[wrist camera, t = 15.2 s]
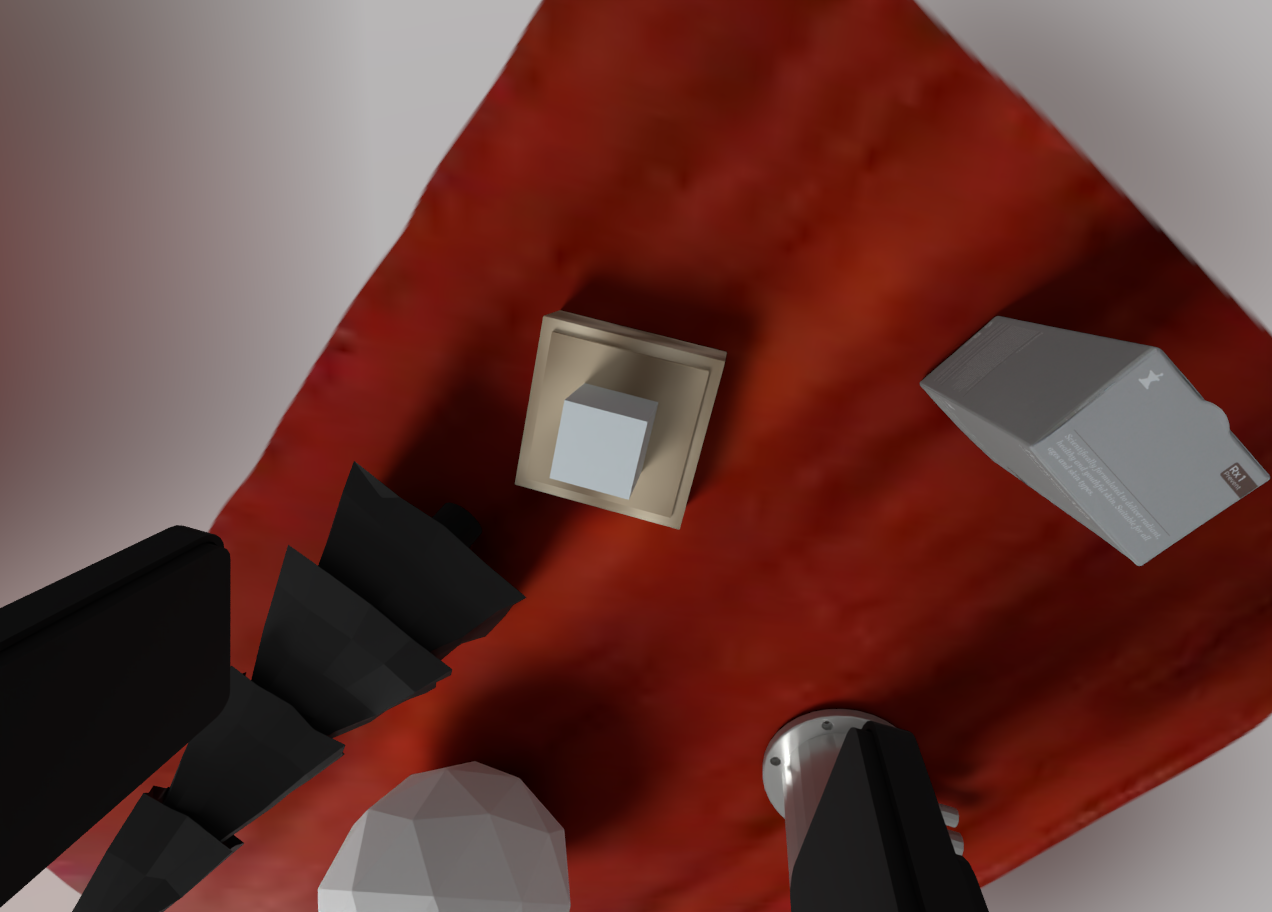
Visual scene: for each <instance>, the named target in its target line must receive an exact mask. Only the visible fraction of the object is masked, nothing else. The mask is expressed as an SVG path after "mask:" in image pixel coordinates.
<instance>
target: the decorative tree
mask: <svg viewBox="0 0 1272 912" xmlns="http://www.w3.org/2000/svg"><path fill="white" fill-rule="evenodd" d="M481 533H482V529H481V526H480V524H479V523H478V521H477V520H476V519H475V518H474V517H473V516H472V515H471V514H470V513H469V512H468V511H466V510H465V509H464V508H462V507H460V506H459V505H456V504H454V503H445V505H444V506H443V507H442V508H441V509H440V510H439V511H438V512H437V513H436V514H435V515H434V516H433V517H432V518H431V517H430V516H428V515H427V514H425V513H424V512H422V511H420V510H419V509H417V508H416V507H414V506H413V505H411V504H410V503H408V502H407V501H405V500H403V499H402V498H400V497H399V496H398V495H396V494H395V493H394V492H393V491H391V490H390V489H389V488H388V487H386V486H385V485H384V484H383V483H381V482H380V481H379V480H378V479H376V478H375V477H374V476H372V475H371V474H370V473H369V472H367V471H366V470H365V469H364V468H362V467H361V466H360V465H359V464H357V463H356V462H355V461H354V463H353V465H352V468H351V471H350V474H349V476H348V479H347V482H346V485H345V487H344V490H343V493H342V496H341V499H340V503H339V506H338V509H337V512H336V515H335V518H334V521H333V525H332V528H331V531H330V534H329V537H328V540H327V543H326V546H325V549H324V551H323V554H322V557H321V560H320V562H319V565H318V566H317V565H316V564H314V563H313V562H312V561H310V560H309V559H307V558H306V557H305V556H303V555H302V554H300V553H299V552H298V551H296V550H295V549H293V548H292V547H291V546H289V545H288V548H287V551H286V554H285V558H284V561H283V565H282V568H281V572H280V575H279V579H278V582H277V586H276V589H275V592H274V596H273V599H272V602H271V606H270V609H269V613H268V616H267V619H266V623H265V626H264V630H263V634H262V638H261V642H260V646H259V650H258V655H257V659H256V663H255V667H254V671H253V675H252V680H249V679H248V678H247V677H246V676H245V675H246V672H245V673H243V674H242V673H240V672H239V671H238V670H237V669H235V668H234V667H233V666H231V667H230V696H229V699H228V702H227V704H226V706H225V707H224V709H223V710H222V712H221V713H220V714H219V716H218V717H217V718H216V719H215V720H213V721H212V722H211V723H210V724H209V725H208V726H207V727H205V728H204V729H203V730H202V731H201V732H200V733H199V734H197V735H196V736H195V737H194V738H193V739H192V740H191V741H189V743H188V745H187V747H186V749H185V752H184V754H183V756H182V759H181V761H180V764H179V766H178V769H177V771H176V774H175V776H174V779H173V781H172V784H171V786H170V788H169V787H168V788H162V787H157V786H153V787H152V789H151V790H150V792H149V793H143V795H142V796H141V798H140V799H139V801H138V802H137V804H136V806H135V807H134V809H133V810H132V812H131V813H130V815H129V817H128V818H127V820H126V821H125V823H124V825H123V826H122V828H121V829H120V831H119V832H118V834H117V836H116V837H115V839H114V840H113V842H112V843H111V845H110V847H109V848H108V850H107V851H106V853H105V855H104V857H103V858H102V860H101V862H100V864H99V865H98V867H97V869H96V871H95V873H94V874H93V876H92V878H91V880H90V881H89V883H88V885H87V887H86V888H85V890H84V892H83V894H82V896H81V897H80V899H79V901H78V903H77V904H76V906H75V908H74V909H73V911H72V912H164V911H165V910H166V909H167V908H169V907H170V906H171V905H172V904H173V903H175V902H176V901H177V900H179V899H180V898H182V897H183V896H184V895H185V894H186V893H187V892H188V891H190V890H191V889H192V888H193V887H194V886H195V885H197V884H198V883H199V882H200V881H201V880H202V879H204V878H205V877H206V876H207V875H208V874H209V873H210V872H212V871H213V870H214V869H215V868H216V867H217V866H219V865H220V864H221V863H222V862H223V861H224V860H226V859H227V858H228V857H229V856H230V855H231V854H232V853H234V852H235V851H236V850H237V849H238V848H239V847H241V846H242V845H243V844H244V843H243V842H242V841H241V840H239V839H238V838H237V837H236V836H234V834H235V833H237V832H238V831H239V830H241V829H242V828H244V827H245V826H247V825H248V824H249V823H251V822H252V821H254V820H255V819H257V818H258V817H259V816H261V815H262V814H264V813H265V812H266V811H268V810H269V809H271V808H272V807H273V806H275V805H276V804H277V803H278V802H279V801H281V800H282V799H283V798H284V797H286V796H287V795H288V794H289V793H291V792H292V791H293V790H295V789H296V788H298V787H299V786H301V785H302V784H304V783H305V782H307V781H309V780H310V779H311V778H313V777H314V776H316V775H317V774H318V773H320V772H321V771H322V770H324V769H325V768H327V767H328V766H329V765H331V764H332V763H333V762H335V761H336V760H338V759H339V758H340V757H342V756H343V755H344V753H343V749H344V747H345V745H344V744H342V743H340V742H338V741H336V740H334V739H332V738H334V737H336V736H338V735H341V734H343V733H346V732H348V731H350V730H353V729H355V728H357V727H360V726H362V725H364V724H367V723H369V722H371V721H372V720H374V719H375V718H377V717H378V716H379V715H381V714H382V713H384V712H385V711H387V710H388V709H390V708H392V707H394V706H396V705H398V704H400V703H402V702H404V701H406V700H409V699H411V698H413V697H416V696H419V695H422V694H425V693H427V692H429V691H430V690H432V689H434V688H435V687H436V682H438V681H440V680H442V679H444V678H446V677H448V676H450V675H451V672H452V669H451V668H450V667H448V666H447V665H446V664H445V663H443V662H442V661H441V660H442V659H443V658H444V657H445V656H446V655H448V654H449V653H450V652H451V651H453V650H454V649H455V648H456V647H457V646H459V645H460V644H462V643H465V642H468V641H472V640H475V639H478V638H482V637H485V636H486V635H487V634H488V633H489V632H490V631H491V630H492V629H493V628H494V627H495V626H496V625H497V624H498V623H499V622H500V621H501V620H502V618H503V617H504V616H505V615H506V614H507V612H508V611H509V610H510V608H511V607H512V605H514V604H516V603H517V602H519V601H521V600H523V599H525V598H526V597H525V596H524V595H523V594H522V593H520V592H519V591H518V590H517V589H516V588H514V587H513V586H512V585H511V584H510V583H508V582H507V581H506V580H505V579H504V578H502V577H501V576H500V575H499V574H498V573H496V572H495V571H494V570H493V569H492V568H490V567H489V566H488V565H487V564H486V563H485V562H483V561H482V560H481V559H480V558H479V557H478V556H477V555H476V554H475V553H474V552H472V551H471V550H470V549H469V547H470V546H471V545H472V544H473V542H474V541H475V540H476V539H477V538H478V537H479V535H480V534H481Z"/></svg>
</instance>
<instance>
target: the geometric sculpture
mask: <svg viewBox="0 0 1272 912" xmlns="http://www.w3.org/2000/svg"><path fill="white" fill-rule="evenodd" d="M570 905H571V904H570V892H569V880H568V868H567V856H566V844H565V832H564V828H563V827H562V826H561V825H560V824H559V823H558V822H557V820H556V819H555V818H554V817H553V816H552V815H551V814H550V812H549V811H548V810H547V809H546V808H545V807H544V805H543V804H542V803H541V802H540V801H539V800H538V799H537V797H536V796H535V795H534V794H533V793H532V792H531V791H530V789H529V788H528V787H527V786H526V785H525V784H524V783H523V781H522V780H521V779H520V778H518V777H516V776H513V775H510V774H508V773H505V772H502V771H500V770H497V769H495V768H492V767H489V766H487V765H484V764H481V763H479V762H476V761H473V762H468V763H464V764H459V765H455V766H450V767H445V768H441V769H436V770H431V771H427V772H422V773H418V774H413V775H410V776H409V777H408V778H406V779H405V780H404V781H403V782H401V783H400V784H399V785H398V786H396V787H395V788H394V789H393V790H392V791H390V792H389V793H388V794H387V795H385V796H384V797H383V798H382V799H380V800H379V801H378V802H377V803H375V804H374V805H373V806H372V807H371V808H369V809H368V810H367V811H366V812H365V813H364V814H363V815H362V816H361V818H360V819H359V820H358V821H357V822H356V823H355V824H354V825H353V827H352V828H351V830H350V832H349V834H348V836H347V837H346V839H345V841H344V843H343V845H342V846H341V848H340V850H339V852H338V854H337V855H336V857H335V859H334V861H333V863H332V864H331V866H330V868H329V870H328V872H327V873H326V875H325V877H324V879H323V881H322V882H321V884H320V886H319V888H318V912H569V910H570Z"/></svg>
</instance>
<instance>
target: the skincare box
mask: <svg viewBox="0 0 1272 912" xmlns="http://www.w3.org/2000/svg"><path fill="white" fill-rule="evenodd" d="M920 386H921V387H922V388H923V389H924V390H925V391H926V392H927V394H928V395H929V396H930V397H931V398H932V399H933V400H934V401H935V403H936V404H937V405H938V406H939V407H940V408H941V409H942V410H943V411H944V412H945V413H946V414H947V416H948V417H949V418H950V419H951V420H952V421H953V422H954V423H955V424H956V425H957V426H958V427H959V428H960V429H961V430H962V431H963V432H964V433H965V434H966V435H967V436H968V437H969V438H970V439H971V440H972V441H973V442H974V443H975V444H976V445H977V446H978V447H979V448H980V449H981V450H982V451H983V452H984V453H986V454H987V455H988V456H989V457H990V458H991V459H992V460H993V461H994V462H995V463H997V464H999V465H1000V466H1001V467H1003V468H1004V469H1006V470H1007V471H1008V472H1010V473H1011V474H1013V475H1014V476H1016V477H1017V478H1018V479H1020V480H1021V481H1022V482H1024V483H1025V484H1027V485H1028V486H1030V487H1031V488H1033V489H1034V490H1035V491H1037V492H1038V493H1040V494H1041V495H1042V496H1044V497H1045V498H1047V499H1048V500H1049V501H1051V502H1052V503H1053V504H1055V505H1056V506H1058V507H1059V508H1060V509H1062V510H1063V511H1065V512H1066V513H1067V514H1069V515H1070V516H1072V517H1073V518H1075V519H1076V520H1077V521H1079V522H1080V523H1082V524H1083V525H1084V526H1086V527H1087V528H1089V529H1090V530H1092V531H1093V532H1094V533H1096V534H1097V535H1098V536H1100V537H1101V538H1103V539H1104V540H1105V541H1107V542H1108V543H1109V544H1111V545H1112V546H1113V547H1115V548H1116V549H1117V550H1119V551H1120V552H1121V553H1123V554H1124V555H1125V556H1127V557H1128V558H1129V559H1131V560H1132V561H1133V562H1134V563H1135V564H1136V565H1137V566H1142V565H1143V564H1145V563H1146V562H1148V561H1149V560H1151V559H1152V558H1153V557H1155V556H1156V555H1158V554H1159V553H1161V552H1162V551H1164V550H1165V549H1167V548H1168V547H1170V546H1171V545H1173V544H1174V543H1175V542H1177V541H1178V540H1180V539H1181V538H1183V537H1184V536H1186V535H1187V534H1189V533H1190V532H1192V531H1193V530H1195V529H1196V528H1198V527H1199V526H1201V525H1202V524H1204V523H1205V522H1207V521H1208V520H1210V519H1211V518H1213V517H1214V516H1216V515H1217V514H1219V513H1220V512H1222V511H1223V510H1225V509H1226V508H1228V507H1229V506H1231V505H1232V504H1234V503H1235V502H1237V501H1238V500H1240V499H1241V498H1243V497H1244V496H1246V495H1247V494H1249V493H1250V492H1252V491H1253V490H1255V489H1256V488H1258V487H1259V486H1261V485H1262V484H1264V483H1265V482H1267V481H1268V480H1269V479H1270V476H1269V474H1268V473H1267V472H1266V471H1265V470H1264V468H1263V467H1262V466H1261V465H1260V464H1259V463H1258V462H1257V460H1256V459H1255V458H1254V457H1253V456H1252V455H1251V453H1250V452H1249V451H1248V450H1247V449H1246V448H1245V446H1244V445H1243V444H1242V443H1241V442H1240V441H1239V440H1238V438H1237V437H1236V436H1235V435H1234V434H1233V433H1232V432H1231V431H1230V428H1229V421H1228V418H1227V416H1226V414H1225V413H1224V412H1223V411H1222V410H1221V409H1220V408H1219V407H1218V406H1216V405H1215V404H1213V403H1211V402H1208V401H1205V400H1204V399H1203V397H1202V396H1201V395H1200V394H1199V392H1198V391H1197V390H1196V389H1195V388H1194V386H1193V385H1192V384H1191V383H1190V382H1189V381H1188V379H1187V378H1186V377H1185V376H1184V375H1183V374H1182V373H1181V371H1180V370H1179V369H1178V368H1177V367H1176V366H1175V365H1174V363H1173V362H1172V361H1171V360H1170V359H1169V358H1168V356H1167V355H1166V354H1165V353H1164V352H1163V351H1162V350H1161V349H1159V348H1157V347H1153V346H1147V345H1142V344H1137V343H1132V342H1127V341H1122V340H1117V339H1112V338H1107V337H1102V336H1096V335H1092V334H1086V333H1081V332H1076V331H1071V330H1066V329H1061V328H1056V327H1051V326H1045V325H1041V324H1036V323H1031V322H1026V321H1021V320H1016V319H1011V318H1007V317H1001V316H996V317H995V318H993V319H992V320H991V321H990V322H989V323H988V324H987V325H985V326H984V327H983V328H982V329H981V330H980V331H978V332H977V333H976V334H975V335H974V336H973V337H972V338H970V339H969V340H968V341H967V342H966V343H965V344H964V345H962V346H961V347H960V348H959V349H958V350H957V351H955V352H954V353H953V354H952V355H951V356H950V357H948V358H947V359H946V360H945V361H944V362H943V363H941V364H940V365H939V366H938V367H937V368H936V369H935V370H933V371H932V372H931V373H930V374H929V375H928V376H926V377H925V378H924V379H923V380H922V381H921V382H920Z"/></svg>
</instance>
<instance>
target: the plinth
mask: <svg viewBox="0 0 1272 912" xmlns="http://www.w3.org/2000/svg"><path fill="white" fill-rule="evenodd" d="M726 354H727V352H725V351H721V350H717V349H713V348H709V347H705V346H701V345H697V344H693V343H689V342H685V341H681V340H677V339H673V338H669V337H665V336H661V335H657V334H653V333H649V332H645V331H641V330H637V329H633V328H629V327H625V326H621V325H617V324H613V323H609V322H605V321H601V320H597V319H593V318H589V317H585V316H581V315H577V314H573V313H569V312H565V311H561V310H560V311H557V312H554V313H551V314H548V315H545V316H543V322H542V328H541V333H540V339H539V345H538V351H537V357H536V363H535V369H534V374H533V380H532V386H531V392H530V398H529V404H528V409H527V415H526V421H525V427H524V433H523V439H522V444H521V450H520V456H519V462H518V468H517V474H516V480H515V485H519V486H522V487H526V488H530V489H533V490H537V491H541V492H544V493H548V494H552V495H555V496H559V497H563V498H566V499H570V500H573V501H577V502H581V503H584V504H588V505H592V506H595V507H599V508H603V509H606V510H610V511H614V512H617V513H621V514H624V515H628V516H632V517H635V518H639V519H643V520H646V521H650V522H654V523H657V524H661V525H665V526H668V527H672V528H675V529H680V526H681V522H682V518H683V515H684V511H685V507H686V504H687V500H688V496H689V493H690V489H691V485H692V482H693V478H694V474H695V471H696V467H697V463H698V460H699V456H700V452H701V449H702V445H703V441H704V438H705V434H706V430H707V427H708V423H709V419H710V416H711V412H712V408H713V405H714V401H715V397H716V394H717V390H718V386H719V383H720V379H721V375H722V372H723V368H724V364H725V360H726ZM584 383H586V384H590V385H594V386H598V387H602V388H606V389H609V390H613V391H617V392H621V393H625V394H629V395H632V396H636V397H640V398H644V399H648V400H652V401H655V402H658V406H657V411H656V415H655V419H654V423H653V427H652V431H651V435H650V439H649V443H648V447H647V452H646V456H645V460H644V464H643V468H642V472H641V474H640V477H639V479H638V481H637V483H636V485H635V488H634V490H633V492H632V494H631V496H630V498H629V500H627V499H624V498H620V497H617V496H613V495H609V494H606V493H602V492H598V491H595V490H591V489H587V488H584V487H580V486H576V485H573V484H569V483H565V482H562V481H558V480H555V479H551V478H550V473H551V467H552V462H553V457H554V452H555V447H556V441H557V436H558V431H559V426H560V421H561V415H562V410H563V405H564V400H565V399H566V398H567V397H569V396H570V395H571V394H572V393H573V392H575V391H576V390H577V389H578V388H579V387H580V386H582V385H583V384H584Z"/></svg>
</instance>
